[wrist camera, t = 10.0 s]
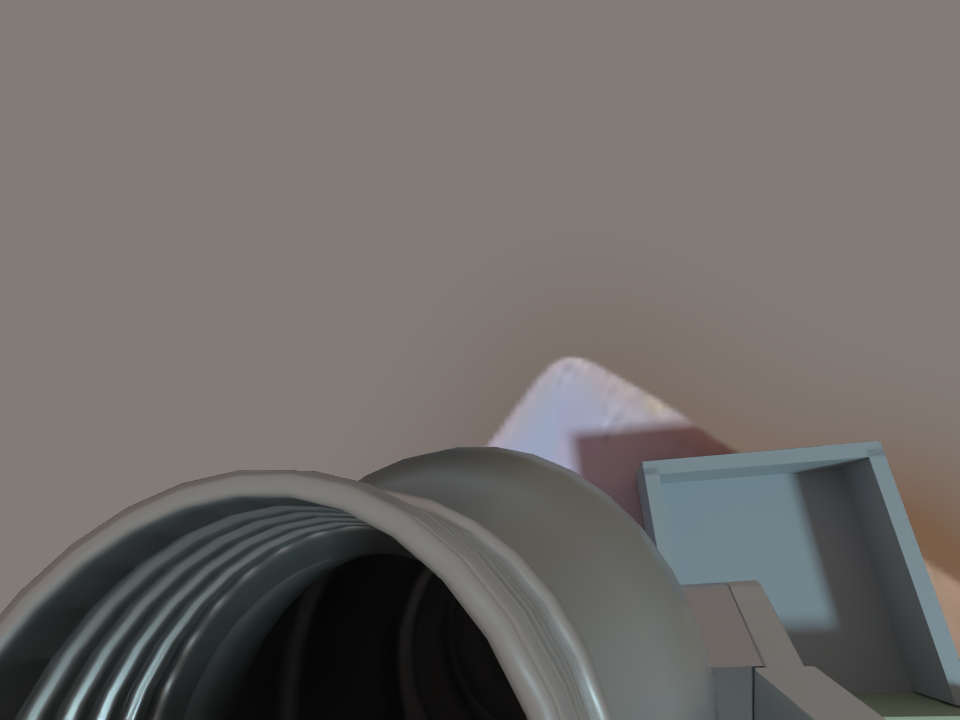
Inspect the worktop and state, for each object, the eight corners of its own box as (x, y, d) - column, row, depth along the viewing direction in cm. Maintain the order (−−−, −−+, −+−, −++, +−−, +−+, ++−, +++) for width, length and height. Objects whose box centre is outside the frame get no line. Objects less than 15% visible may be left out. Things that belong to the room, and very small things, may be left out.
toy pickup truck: (1069, 965, 23) (1218, 1084, 18) (665, 944, 26) (686, 1042, 20) (883, 455, 32) (944, 429, 27) (600, 478, 35) (602, 459, 29)
